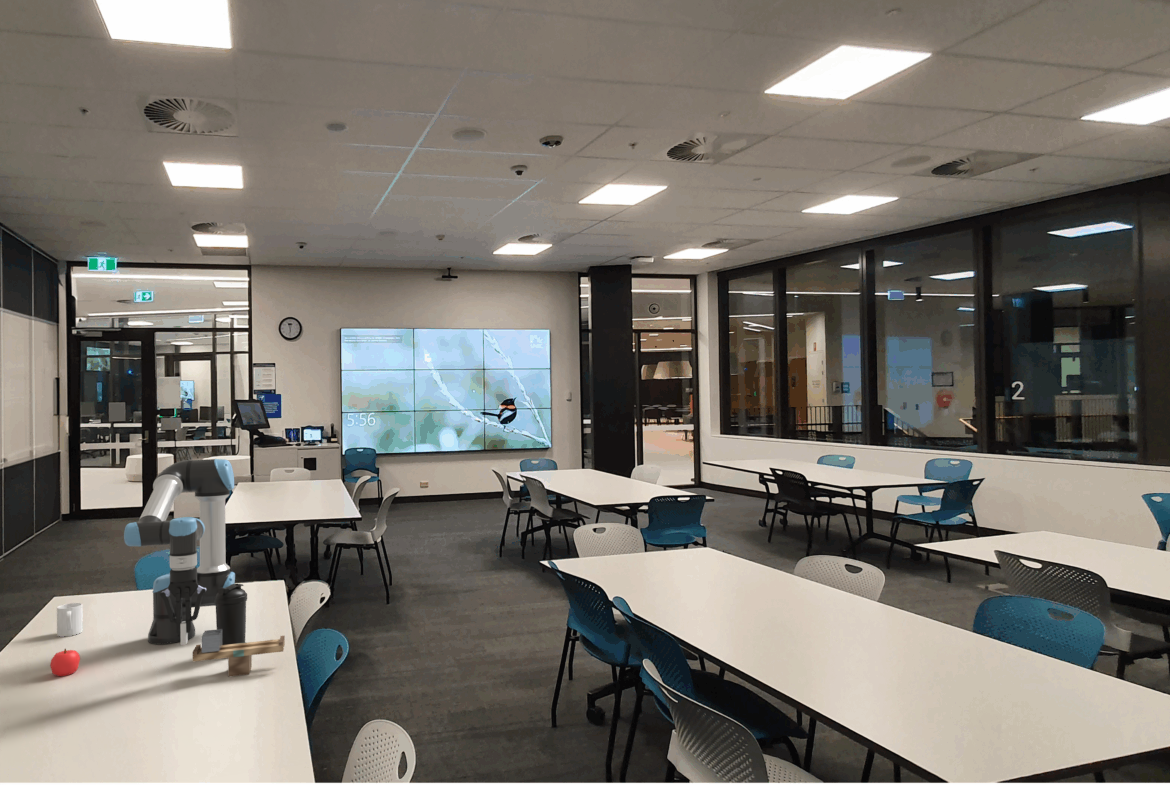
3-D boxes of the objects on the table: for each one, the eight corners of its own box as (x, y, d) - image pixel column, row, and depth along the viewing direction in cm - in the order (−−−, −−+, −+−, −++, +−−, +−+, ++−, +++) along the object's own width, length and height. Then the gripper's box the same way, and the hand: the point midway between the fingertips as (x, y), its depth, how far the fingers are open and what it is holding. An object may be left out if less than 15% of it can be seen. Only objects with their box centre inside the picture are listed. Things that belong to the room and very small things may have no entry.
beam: (192, 681, 229) (192, 652, 229) (196, 672, 236) (196, 644, 236) (283, 670, 237) (283, 642, 237) (284, 662, 244) (284, 635, 244)
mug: (57, 632, 279) (57, 605, 279) (83, 629, 283) (82, 601, 283) (55, 641, 269) (55, 612, 269) (81, 637, 273) (81, 609, 273)
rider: (201, 659, 230) (201, 636, 230) (205, 652, 237) (205, 630, 237) (219, 657, 232) (219, 634, 232) (222, 650, 238) (222, 628, 238)
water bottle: (254, 650, 257) (253, 584, 257) (229, 660, 247) (228, 591, 248) (233, 646, 261) (233, 581, 261) (208, 656, 252) (207, 588, 252)
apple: (77, 667, 243) (77, 642, 243) (83, 673, 237) (82, 648, 237) (47, 673, 237) (47, 648, 237) (52, 680, 231) (52, 654, 231)
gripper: (157, 572, 226) (157, 649, 226) (204, 568, 230) (205, 644, 230) (162, 566, 233) (163, 642, 233) (208, 563, 238) (209, 637, 237)
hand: (184, 643), depth 232 cm, fingers closed
